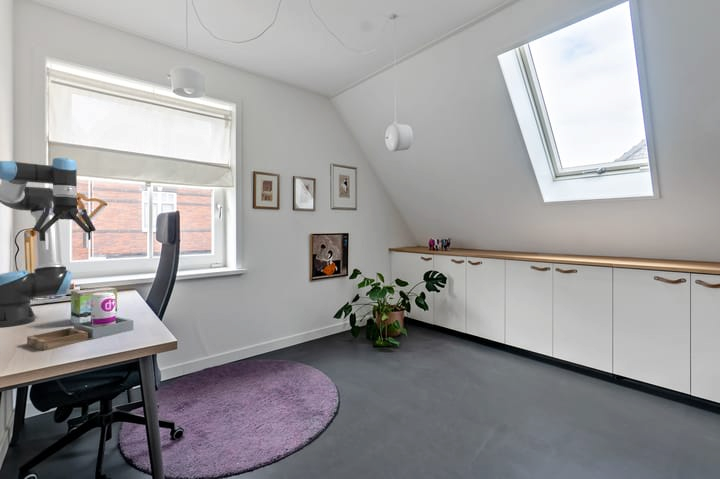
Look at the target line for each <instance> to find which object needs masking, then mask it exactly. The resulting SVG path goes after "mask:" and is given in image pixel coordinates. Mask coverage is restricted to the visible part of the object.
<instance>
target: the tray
mask: <svg viewBox="0 0 720 479" xmlns="http://www.w3.org/2000/svg"><path fill="white" fill-rule="evenodd" d="M73 328H74V329H77V330H81V331H85V332H88V339H89V340H97V339H101V338H105V337H109V336H113V335H117V334H121V333H125V332H130V331H134V319H128V318H124V317H119V316H117V317H116V323H115V324H111V325H106V326H101V327H97V328H93V327H91V321H87V322H82V323H77V324H74V323H73Z"/></svg>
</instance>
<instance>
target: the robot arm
mask: <svg viewBox="0 0 720 479" xmlns="http://www.w3.org/2000/svg"><path fill="white" fill-rule="evenodd" d="M51 161H52V162H51V163H52V164H51V165H48V164H47V165H46V164H38V163H28V162H21V161H13V160H0V180H1V182H0V204H2V205H3V206H5V207H6V208H10V209H13V210H18V211H29V212H30V215H31V216H32V217H33V218H35V225H34V226H33V228H32V231H33V232H35V233H36V236H35V237H36V248H37V266H36V267H35V268H34V269H33V270H34V272H30V271H29V270H27V269H25V270H16V271H9V272H3V273H0V328H5V327H6V328H7V327H13V326H14V327H15V326H19V325H20V326H21V325H25V324H29V323H32V322H35V321H36V315H35V313H34V310H33V308H32V306H31V303H30V299H33V298H42V297H51V296H55V297H56V296H59V295H60V296H61V295H65V294H67V293H68V292H69V290H70V287H71V282H72V272H71V270H69V269H67V266H65V265H64V264H63V263H62V248H61V237H60V236H61V235H60V234H61V233H60V222H59V220H67V221H69V220H72V221H74V223H76V224H77V226H79V228H80V229H82V230H83V231H84V232H82V244H83V245H82V246H83V247H82V248H83V249H88V248H89V241H90V240H91V236H92V235H91V233H92V232H95V231H96V227H95V226H94V224H93V222H92V221H91V219H90V216H89V215H88V212H87V209H85V208H83V209H82V208H81V209H78V198H77V196H78V187H77V183H78V182H77V181H78V180H77V179H78V178H77V177H78V176H77V170H78V168H77V161H76V160H74V159H72V158H67V157H53V158H52V160H51ZM28 183H37V184H39V183H40V184H52V188H51V187H39V186H37V187H36V186H27V185H28ZM78 214H79V215H80V216H81V218H82V220H83V221H82V220H81V219H80V218H79V216H78Z"/></svg>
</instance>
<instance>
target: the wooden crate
mask: <svg viewBox="0 0 720 479" xmlns="http://www.w3.org/2000/svg"><path fill="white" fill-rule="evenodd" d="M88 340H89V338H88V332H85V331H81V330H77V329H74V327H73V328H72V327H68V328H62V329H58V330H53V331H49V332H47V331H46V332H43V333H38V334H34V335H33V334H32V335H28V336H26V345H27V346H29V347H33V348H35V349H38V350H41V351H48V350H52V349H56V348H61V347H64V346H70V345H73V344H77V343H82V342H85V341H88Z"/></svg>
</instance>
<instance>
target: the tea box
mask: <svg viewBox="0 0 720 479" xmlns="http://www.w3.org/2000/svg"><path fill="white" fill-rule="evenodd" d="M101 292H113V294H114V295H115V316H116V317H118V289H117V288H115V287H109V286H106V287H95V288H85V289H78V290H71V291H70V323H72V324H73V325H74V324H77V323H82V322H87V321H91V297H92V295H93V294H95V293H101Z"/></svg>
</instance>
